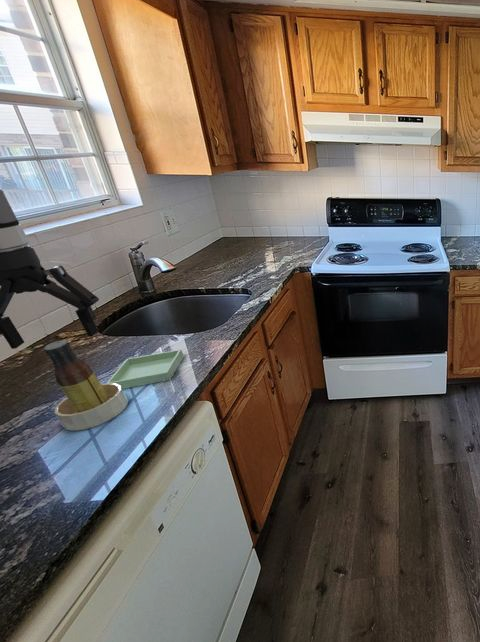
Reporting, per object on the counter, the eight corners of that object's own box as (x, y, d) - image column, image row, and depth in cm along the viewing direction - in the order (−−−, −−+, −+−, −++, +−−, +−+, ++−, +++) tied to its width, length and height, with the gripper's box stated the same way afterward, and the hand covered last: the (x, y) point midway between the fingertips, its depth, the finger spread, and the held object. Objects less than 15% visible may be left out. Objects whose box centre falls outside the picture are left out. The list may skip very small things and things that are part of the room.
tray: (109, 391, 99) (105, 384, 98) (129, 365, 110) (126, 358, 109) (170, 379, 103) (167, 372, 102) (183, 355, 114) (181, 349, 113)
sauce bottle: (100, 401, 95) (63, 335, 86) (119, 404, 93) (84, 337, 85) (72, 419, 89) (29, 349, 80) (92, 422, 88) (51, 352, 79)
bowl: (51, 436, 84) (41, 421, 82) (80, 403, 95) (72, 389, 93) (115, 422, 88) (107, 408, 86) (136, 392, 98) (129, 378, 96)
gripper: (90, 237, 80) (129, 322, 89) (-63, 251, 73) (-3, 342, 82) (71, 245, 73) (115, 336, 83) (-99, 262, 66) (-30, 359, 75)
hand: (57, 339), depth 82 cm, fingers open, 13 cm apart
